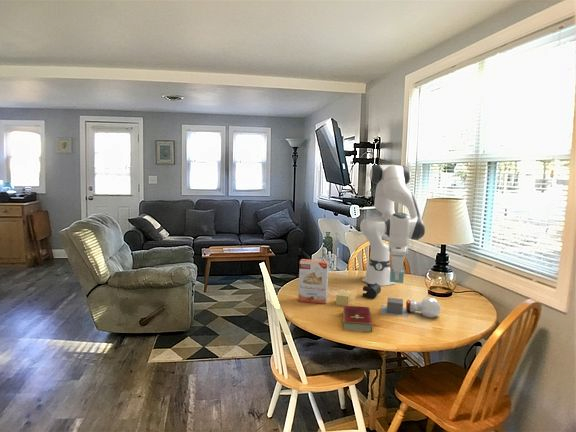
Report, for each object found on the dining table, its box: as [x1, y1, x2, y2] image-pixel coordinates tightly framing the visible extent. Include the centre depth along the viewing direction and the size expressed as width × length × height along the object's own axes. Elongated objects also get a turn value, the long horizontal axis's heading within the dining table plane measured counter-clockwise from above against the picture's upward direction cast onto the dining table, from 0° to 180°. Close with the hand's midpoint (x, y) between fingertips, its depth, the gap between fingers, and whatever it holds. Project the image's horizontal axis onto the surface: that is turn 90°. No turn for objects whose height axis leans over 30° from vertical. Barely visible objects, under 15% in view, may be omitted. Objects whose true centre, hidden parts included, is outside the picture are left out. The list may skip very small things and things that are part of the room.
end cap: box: [362, 283, 382, 300], centre depth 215 cm, size 10×7×7 cm
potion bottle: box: [405, 296, 442, 319], centre depth 189 cm, size 9×10×15 cm
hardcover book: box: [342, 305, 373, 333], centre depth 181 cm, size 12×21×4 cm, turn 172°
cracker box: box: [297, 258, 330, 305], centre depth 205 cm, size 14×6×21 cm, turn 78°
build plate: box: [380, 305, 409, 318], centre depth 193 cm, size 12×12×1 cm
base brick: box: [386, 297, 404, 314], centre depth 193 cm, size 7×7×5 cm
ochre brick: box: [335, 291, 351, 307], centre depth 204 cm, size 6×6×5 cm
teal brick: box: [390, 267, 405, 284], centre depth 191 cm, size 6×6×5 cm
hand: (396, 277), depth 191 cm, fingers closed on teal brick, 6 cm apart
